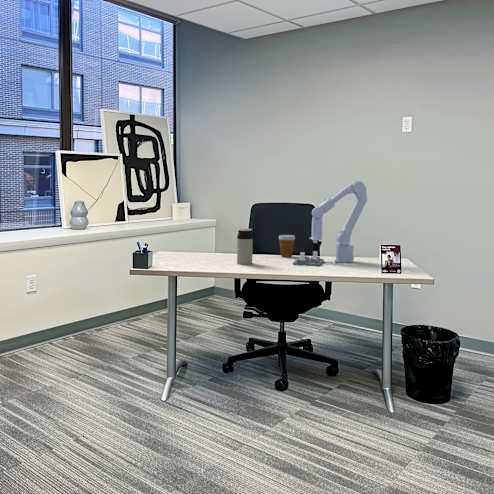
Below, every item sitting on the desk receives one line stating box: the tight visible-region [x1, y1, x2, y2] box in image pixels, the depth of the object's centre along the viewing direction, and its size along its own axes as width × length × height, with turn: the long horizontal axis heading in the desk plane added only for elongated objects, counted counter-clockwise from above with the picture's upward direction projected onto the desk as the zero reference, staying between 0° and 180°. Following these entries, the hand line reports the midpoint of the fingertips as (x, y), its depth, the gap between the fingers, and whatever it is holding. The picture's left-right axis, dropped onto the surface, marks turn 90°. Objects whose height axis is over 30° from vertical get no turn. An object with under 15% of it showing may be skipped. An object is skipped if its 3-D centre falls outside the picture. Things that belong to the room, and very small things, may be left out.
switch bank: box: [292, 256, 325, 267], centre depth 297 cm, size 14×18×2 cm
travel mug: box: [236, 228, 254, 266], centre depth 292 cm, size 8×8×18 cm
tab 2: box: [312, 250, 318, 260], centre depth 299 cm, size 2×4×4 cm, turn 167°
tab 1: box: [299, 252, 306, 260], centre depth 295 cm, size 2×4×4 cm, turn 167°
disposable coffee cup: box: [278, 234, 296, 258], centre depth 319 cm, size 10×10×12 cm
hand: (316, 254), depth 305 cm, fingers closed
